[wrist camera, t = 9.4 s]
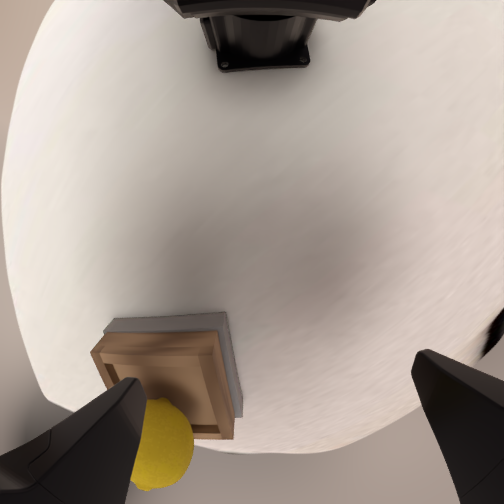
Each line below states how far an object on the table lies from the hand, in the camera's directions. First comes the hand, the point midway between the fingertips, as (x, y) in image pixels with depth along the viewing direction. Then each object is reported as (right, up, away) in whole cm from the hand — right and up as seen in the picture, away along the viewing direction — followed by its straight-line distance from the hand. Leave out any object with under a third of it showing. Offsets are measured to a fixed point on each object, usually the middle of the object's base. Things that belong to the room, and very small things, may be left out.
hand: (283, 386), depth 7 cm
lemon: (-7, -7, +10) cm, 15 cm away
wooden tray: (-7, -6, +12) cm, 16 cm away
